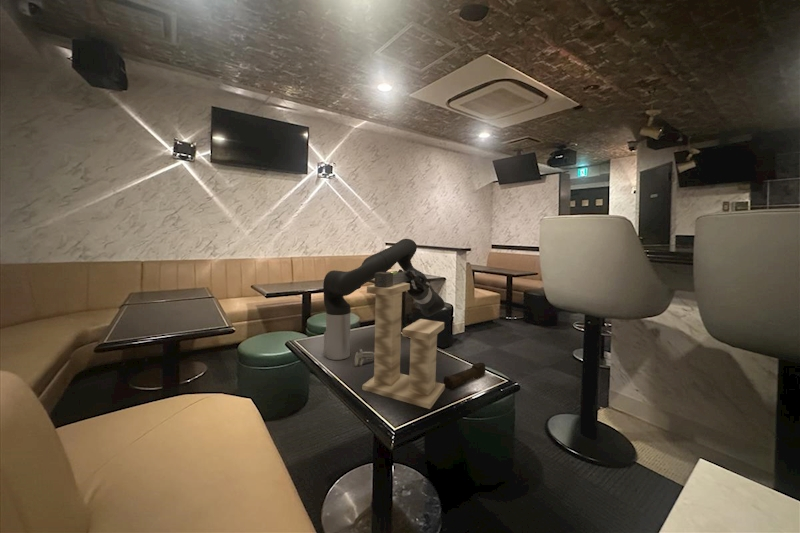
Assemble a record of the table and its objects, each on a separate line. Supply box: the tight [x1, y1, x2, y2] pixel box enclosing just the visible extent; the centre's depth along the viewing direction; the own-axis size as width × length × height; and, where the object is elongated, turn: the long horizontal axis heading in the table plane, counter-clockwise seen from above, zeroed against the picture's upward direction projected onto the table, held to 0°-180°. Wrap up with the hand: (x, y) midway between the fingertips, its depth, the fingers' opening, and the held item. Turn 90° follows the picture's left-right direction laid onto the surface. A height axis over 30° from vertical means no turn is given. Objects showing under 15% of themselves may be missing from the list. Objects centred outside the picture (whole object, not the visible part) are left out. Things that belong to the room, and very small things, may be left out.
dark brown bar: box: [443, 362, 486, 390], centre depth 101 cm, size 19×4×5 cm, turn 125°
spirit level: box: [373, 270, 415, 288], centre depth 99 cm, size 4×22×4 cm, turn 154°
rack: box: [361, 283, 446, 410], centre depth 93 cm, size 22×13×32 cm, turn 64°
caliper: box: [354, 348, 402, 367], centre depth 116 cm, size 20×1×6 cm, turn 127°
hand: (403, 272), depth 103 cm, fingers closed on spirit level, 2 cm apart
